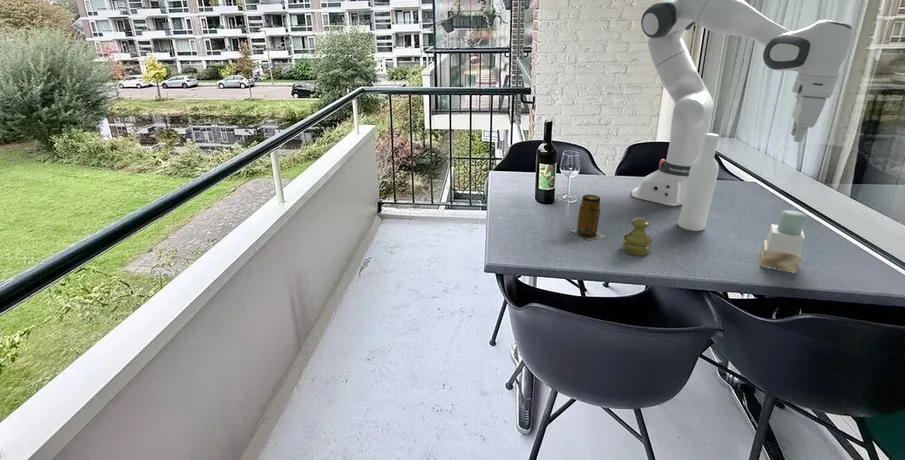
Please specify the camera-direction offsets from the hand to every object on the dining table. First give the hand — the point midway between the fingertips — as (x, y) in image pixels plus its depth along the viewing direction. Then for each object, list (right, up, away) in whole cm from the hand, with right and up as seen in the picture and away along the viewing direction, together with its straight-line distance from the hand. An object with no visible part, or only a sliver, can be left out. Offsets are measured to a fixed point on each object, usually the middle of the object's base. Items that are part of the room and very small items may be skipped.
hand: (795, 138), depth 128 cm
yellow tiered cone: (-43, -32, +4) cm, 54 cm away
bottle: (-18, -25, +21) cm, 37 cm away
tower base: (-7, -35, -3) cm, 36 cm away
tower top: (-7, -30, -5) cm, 32 cm away
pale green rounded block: (-7, -26, -7) cm, 28 cm away
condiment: (-54, -27, +15) cm, 62 cm away
